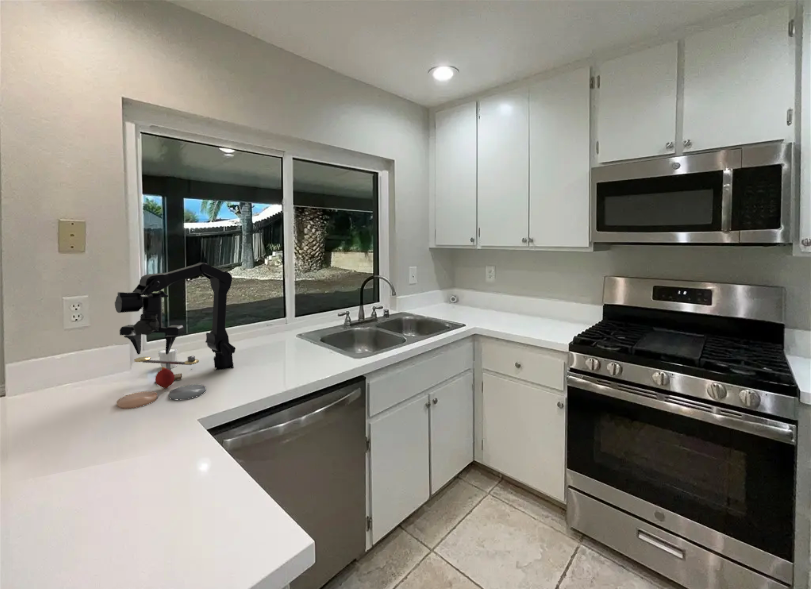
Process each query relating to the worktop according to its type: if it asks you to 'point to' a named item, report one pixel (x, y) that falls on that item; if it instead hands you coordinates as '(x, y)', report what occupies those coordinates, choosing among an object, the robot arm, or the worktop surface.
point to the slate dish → (187, 391)
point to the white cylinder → (168, 357)
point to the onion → (164, 378)
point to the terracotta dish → (136, 399)
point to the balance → (190, 361)
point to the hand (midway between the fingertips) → (153, 354)
